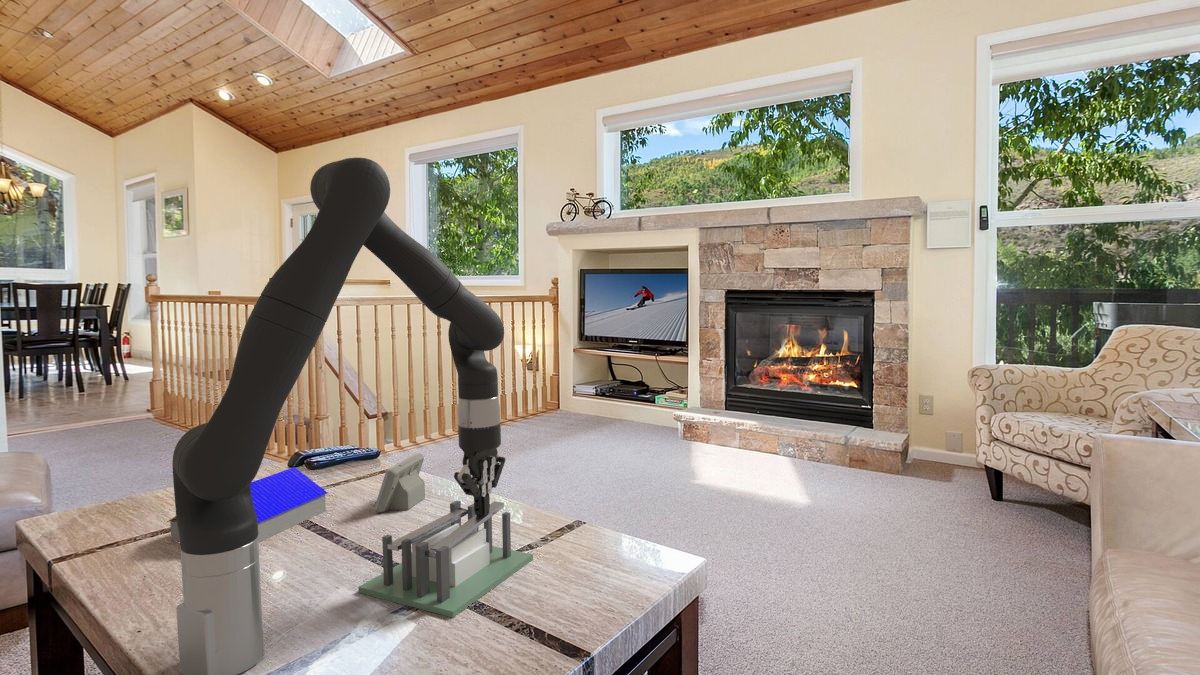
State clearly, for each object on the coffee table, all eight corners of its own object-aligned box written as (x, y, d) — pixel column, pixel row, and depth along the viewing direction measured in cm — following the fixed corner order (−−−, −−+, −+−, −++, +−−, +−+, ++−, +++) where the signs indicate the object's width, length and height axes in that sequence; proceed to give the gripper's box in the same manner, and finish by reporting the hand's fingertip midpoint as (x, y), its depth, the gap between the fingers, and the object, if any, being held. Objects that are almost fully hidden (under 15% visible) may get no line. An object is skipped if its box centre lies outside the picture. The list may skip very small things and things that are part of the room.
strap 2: (436, 559, 105) (435, 554, 105) (424, 557, 106) (424, 552, 106) (504, 507, 123) (504, 502, 123) (494, 505, 124) (493, 500, 124)
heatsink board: (453, 617, 102) (451, 558, 101) (358, 592, 110) (356, 537, 110) (532, 559, 123) (532, 510, 123) (448, 541, 132) (447, 495, 131)
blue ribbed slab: (328, 512, 151) (327, 470, 150) (238, 554, 127) (236, 505, 126) (265, 504, 156) (263, 463, 156) (167, 543, 133) (165, 496, 132)
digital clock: (408, 491, 165) (407, 450, 164) (438, 495, 161) (437, 453, 161) (363, 512, 150) (361, 467, 149) (394, 517, 146) (393, 471, 146)
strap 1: (398, 551, 108) (397, 546, 108) (387, 548, 110) (387, 543, 109) (470, 513, 126) (470, 508, 126) (460, 511, 127) (460, 507, 127)
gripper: (474, 431, 109) (477, 530, 111) (516, 415, 121) (519, 505, 123) (438, 427, 112) (442, 524, 114) (483, 412, 124) (486, 500, 126)
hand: (482, 514), depth 118 cm, fingers closed
